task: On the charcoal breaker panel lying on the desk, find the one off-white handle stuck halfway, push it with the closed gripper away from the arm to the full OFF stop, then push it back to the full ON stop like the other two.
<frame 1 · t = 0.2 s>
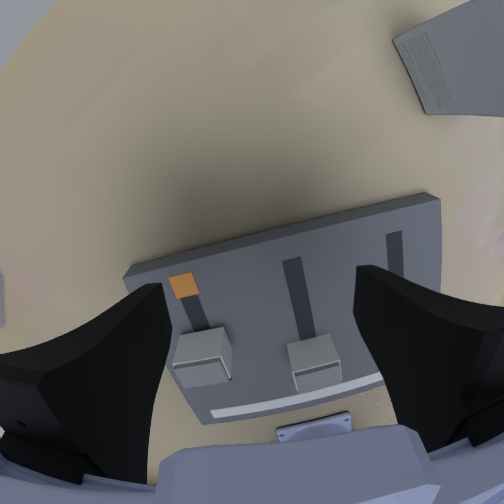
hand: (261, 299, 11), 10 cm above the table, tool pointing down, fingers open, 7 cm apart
skincare box: (425, 69, 17), on the table
breaker panel: (303, 322, 24), on the table
tripped breaker handle: (203, 358, 19), point 4 cm above the table, slide at 3.0 cm
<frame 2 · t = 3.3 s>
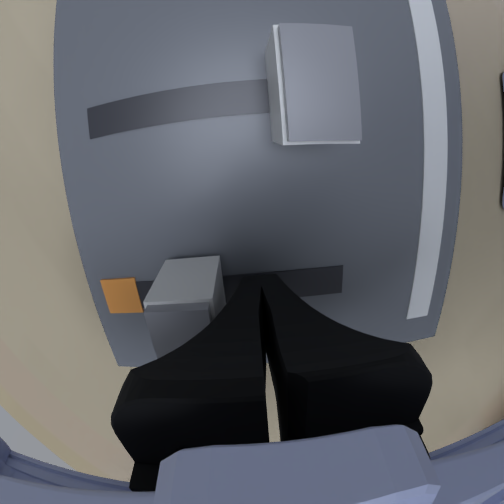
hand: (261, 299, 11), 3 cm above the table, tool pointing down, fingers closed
breaker panel: (264, 101, 11), on the table
tripped breaker handle: (192, 321, 10), point 4 cm above the table, slide at 4.1 cm, touching gripper
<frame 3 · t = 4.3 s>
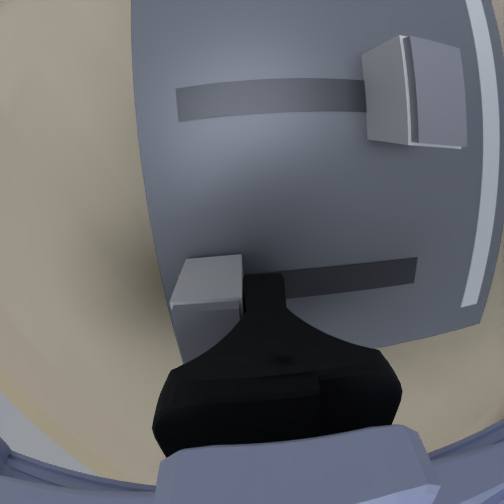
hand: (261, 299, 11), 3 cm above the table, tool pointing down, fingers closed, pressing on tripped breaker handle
breaker panel: (347, 100, 11), on the table
tripped breaker handle: (216, 321, 10), point 4 cm above the table, slide at 6.8 cm, touching gripper
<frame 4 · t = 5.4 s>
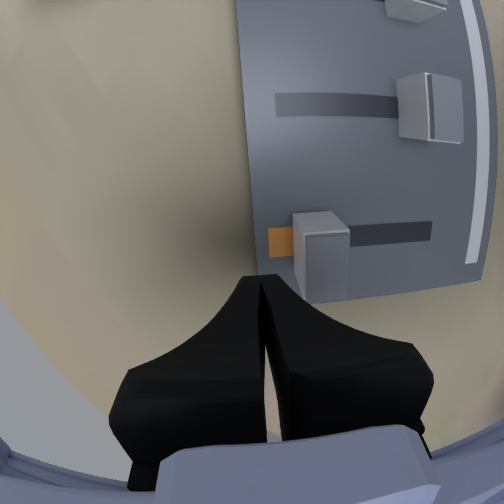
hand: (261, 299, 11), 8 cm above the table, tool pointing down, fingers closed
breaker panel: (382, 109, 16), on the table
tripped breaker handle: (319, 254, 14), point 4 cm above the table, slide at 6.1 cm
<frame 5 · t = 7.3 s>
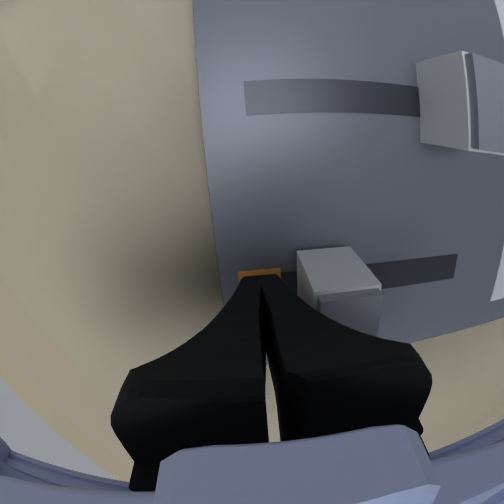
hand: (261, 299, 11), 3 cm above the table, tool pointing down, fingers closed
breaker panel: (395, 104, 11), on the table
tripped breaker handle: (334, 311, 10), point 4 cm above the table, slide at 5.1 cm, touching gripper
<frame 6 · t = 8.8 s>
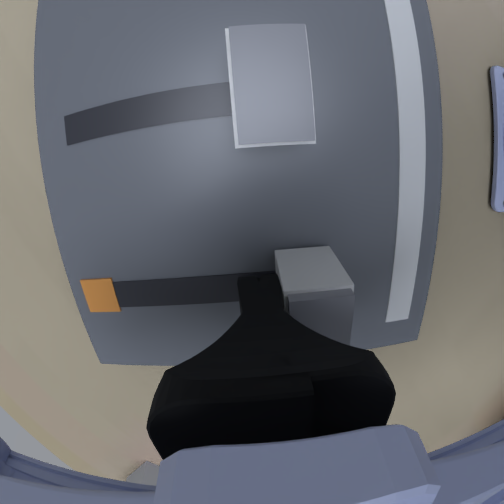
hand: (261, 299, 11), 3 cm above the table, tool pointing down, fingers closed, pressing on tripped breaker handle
breaker panel: (236, 103, 11), on the table
grey cube: (165, 478, 23), on the table
tripped breaker handle: (310, 311, 10), point 4 cm above the table, slide at -1.0 cm, touching gripper
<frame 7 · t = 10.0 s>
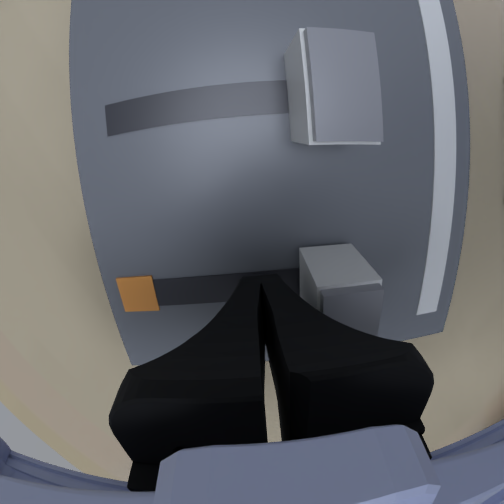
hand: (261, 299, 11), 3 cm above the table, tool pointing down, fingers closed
breaker panel: (280, 101, 11), on the table
tripped breaker handle: (336, 306, 10), point 4 cm above the table, slide at -0.1 cm
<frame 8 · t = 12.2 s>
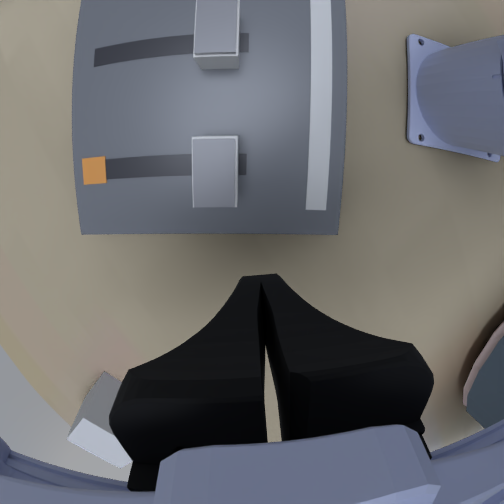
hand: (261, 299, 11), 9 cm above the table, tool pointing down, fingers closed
breaker panel: (206, 51, 16), on the table
grey cube: (119, 399, 27), on the table
tripped breaker handle: (216, 168, 15), point 4 cm above the table, slide at -0.1 cm
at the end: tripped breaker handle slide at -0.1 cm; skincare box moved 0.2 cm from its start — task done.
